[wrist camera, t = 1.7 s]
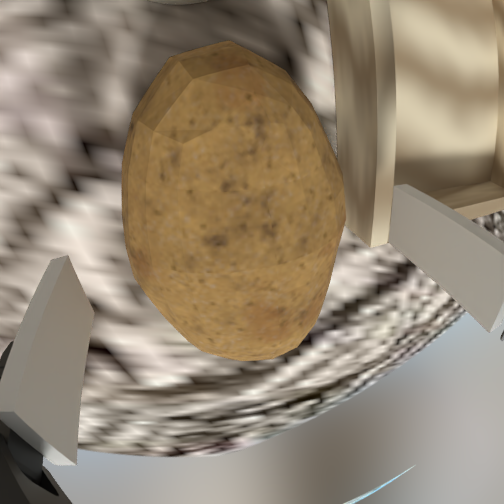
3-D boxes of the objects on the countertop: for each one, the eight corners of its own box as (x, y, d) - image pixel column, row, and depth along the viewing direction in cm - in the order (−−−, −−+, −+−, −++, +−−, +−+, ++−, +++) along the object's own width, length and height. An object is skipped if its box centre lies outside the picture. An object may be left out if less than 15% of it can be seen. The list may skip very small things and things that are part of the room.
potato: (290, 47, 14) (384, 31, 7) (304, 267, 21) (363, 351, 15) (101, 77, 12) (43, 72, 6) (162, 302, 20) (171, 406, 13)
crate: (314, -73, 10) (348, -98, 6) (487, -9, 12) (522, -8, 9) (337, 218, 20) (370, 247, 16) (486, 188, 23) (517, 205, 19)
